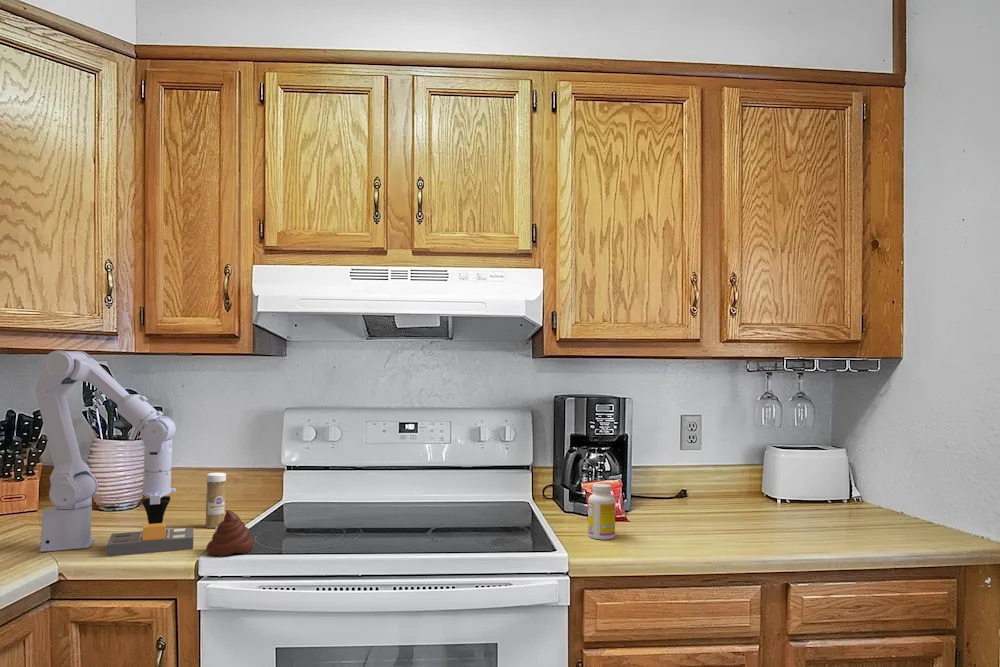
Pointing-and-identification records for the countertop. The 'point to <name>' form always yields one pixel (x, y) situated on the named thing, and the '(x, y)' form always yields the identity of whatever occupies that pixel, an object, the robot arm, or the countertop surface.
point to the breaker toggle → (154, 531)
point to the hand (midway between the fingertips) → (155, 530)
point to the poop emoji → (230, 537)
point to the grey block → (149, 542)
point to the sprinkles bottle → (215, 499)
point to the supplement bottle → (601, 513)
